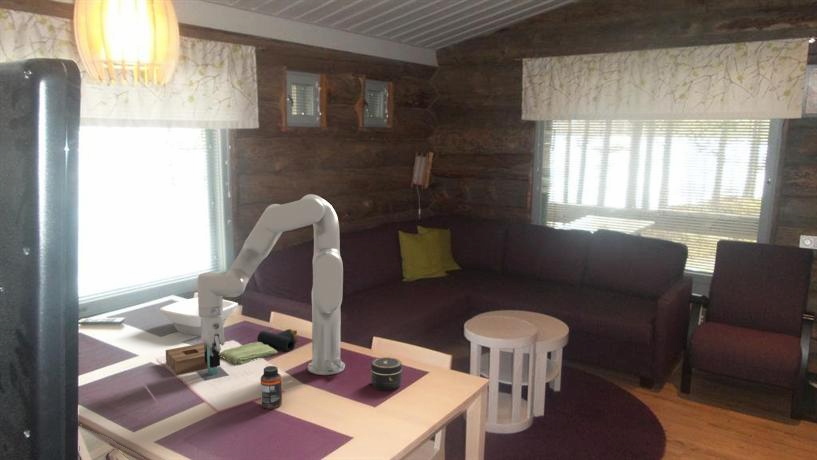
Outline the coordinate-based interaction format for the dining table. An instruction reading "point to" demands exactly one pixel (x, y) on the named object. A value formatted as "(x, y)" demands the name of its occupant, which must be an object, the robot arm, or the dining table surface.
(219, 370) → the mat
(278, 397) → the supplement bottle
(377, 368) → the jar
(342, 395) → the dining table surface
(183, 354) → the hole block
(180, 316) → the bowl
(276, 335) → the pipe connector
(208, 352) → the peg
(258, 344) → the washcloth
